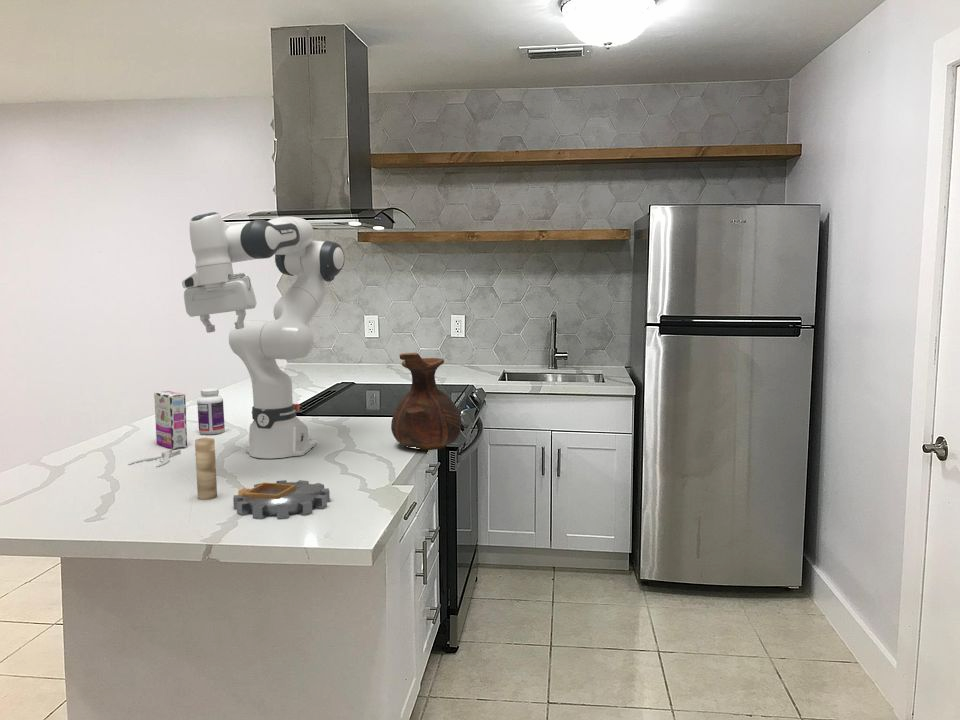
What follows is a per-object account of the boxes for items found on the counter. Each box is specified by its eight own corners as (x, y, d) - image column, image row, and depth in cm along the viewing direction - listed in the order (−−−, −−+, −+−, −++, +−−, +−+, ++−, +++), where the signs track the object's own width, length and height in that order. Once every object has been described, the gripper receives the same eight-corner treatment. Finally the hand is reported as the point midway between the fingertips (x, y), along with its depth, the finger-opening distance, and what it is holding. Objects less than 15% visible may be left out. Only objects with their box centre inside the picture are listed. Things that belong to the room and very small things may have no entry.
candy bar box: (188, 447, 235) (186, 394, 233) (172, 450, 231) (169, 396, 229) (171, 441, 242) (168, 390, 240) (155, 444, 239) (153, 392, 237)
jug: (379, 443, 241) (377, 347, 237) (441, 435, 251) (441, 343, 247) (408, 458, 222) (407, 354, 218) (474, 449, 232) (474, 350, 229)
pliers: (126, 461, 214) (160, 448, 229) (127, 466, 215) (161, 453, 229) (158, 463, 212) (190, 450, 227) (158, 468, 212) (190, 455, 227)
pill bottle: (224, 429, 260) (223, 387, 258) (224, 434, 252) (222, 390, 250) (199, 431, 257) (197, 388, 255) (198, 436, 250) (196, 392, 248)
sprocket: (265, 487, 194) (264, 474, 194) (344, 493, 188) (344, 480, 188) (214, 514, 173) (213, 499, 173) (302, 522, 168) (301, 507, 167)
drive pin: (204, 493, 189) (202, 437, 187) (220, 494, 188) (218, 438, 186) (193, 498, 184) (191, 441, 183) (210, 500, 183) (207, 442, 181)
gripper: (256, 271, 196) (265, 324, 198) (194, 280, 204) (203, 332, 206) (240, 272, 191) (249, 328, 192) (176, 282, 199) (186, 335, 200)
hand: (225, 330), depth 199 cm, fingers open, 8 cm apart
